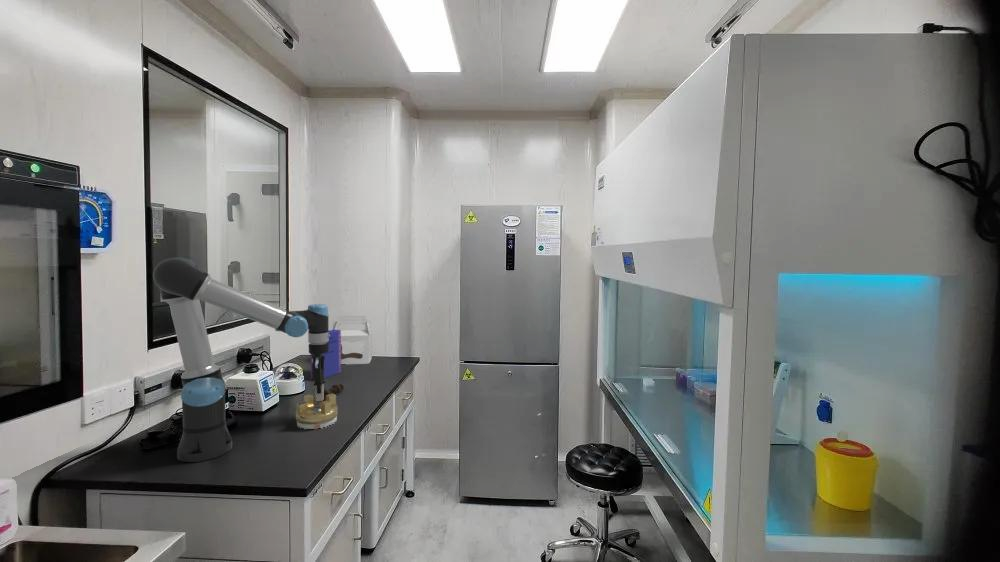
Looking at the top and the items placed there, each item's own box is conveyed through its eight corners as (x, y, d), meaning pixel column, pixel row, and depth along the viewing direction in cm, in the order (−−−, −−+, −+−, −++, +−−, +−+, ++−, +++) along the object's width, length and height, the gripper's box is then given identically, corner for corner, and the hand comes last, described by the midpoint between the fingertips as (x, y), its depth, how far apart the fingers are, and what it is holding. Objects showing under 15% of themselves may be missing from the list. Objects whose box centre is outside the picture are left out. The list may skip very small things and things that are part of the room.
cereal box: (334, 371, 241) (333, 329, 240) (341, 372, 239) (340, 329, 238) (311, 380, 225) (310, 334, 223) (318, 381, 223) (317, 335, 222)
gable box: (372, 358, 272) (371, 314, 270) (369, 363, 259) (369, 317, 257) (335, 359, 268) (334, 315, 266) (330, 365, 255) (330, 318, 253)
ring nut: (310, 427, 158) (310, 408, 157) (287, 418, 166) (287, 400, 166) (345, 414, 170) (345, 397, 170) (322, 407, 179) (322, 390, 178)
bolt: (342, 394, 208) (325, 404, 193) (334, 389, 208) (316, 398, 193) (348, 384, 207) (330, 393, 192) (339, 379, 208) (322, 387, 193)
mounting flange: (311, 432, 158) (311, 427, 158) (289, 424, 166) (289, 418, 166) (344, 420, 170) (344, 415, 170) (322, 412, 178) (322, 408, 178)
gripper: (326, 345, 167) (327, 405, 168) (331, 339, 180) (331, 394, 181) (305, 346, 165) (306, 406, 167) (311, 340, 178) (312, 395, 179)
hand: (319, 400), depth 174 cm, fingers closed
